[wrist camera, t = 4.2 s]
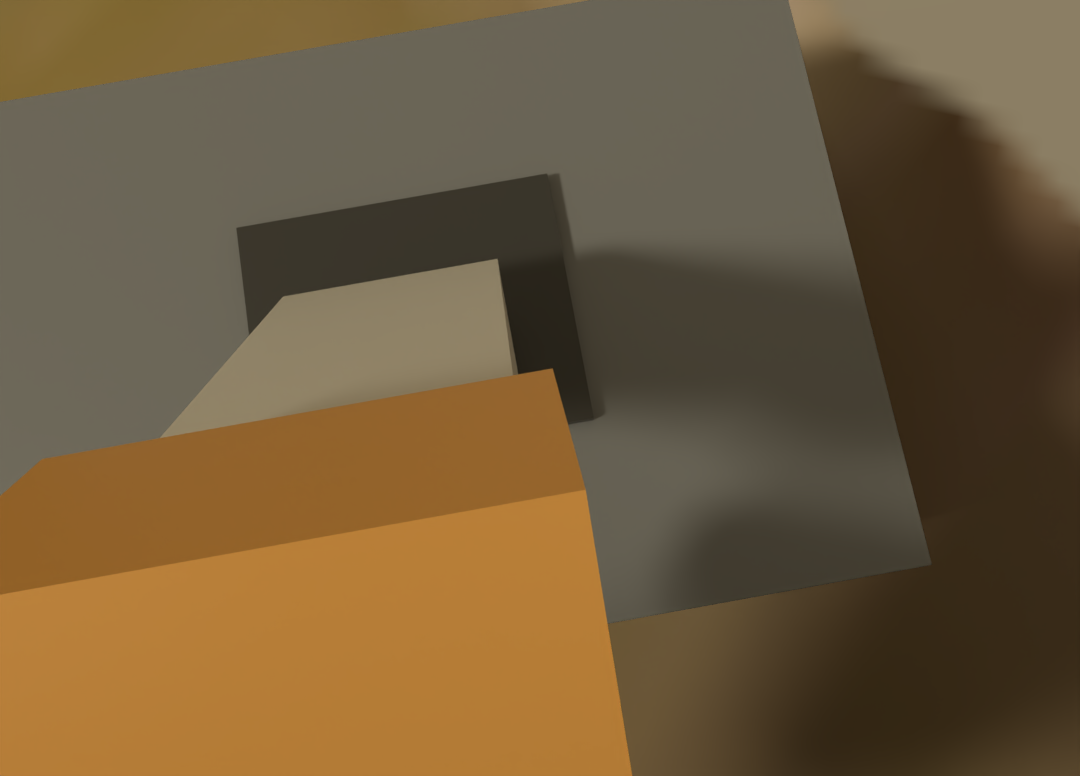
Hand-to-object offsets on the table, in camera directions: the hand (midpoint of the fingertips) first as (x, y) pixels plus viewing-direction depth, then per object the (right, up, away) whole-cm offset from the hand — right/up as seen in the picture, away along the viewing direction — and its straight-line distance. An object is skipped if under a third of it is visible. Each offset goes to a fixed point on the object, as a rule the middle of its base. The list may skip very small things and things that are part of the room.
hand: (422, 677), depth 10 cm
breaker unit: (-1, +3, +11) cm, 11 cm away
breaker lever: (-1, +4, +4) cm, 6 cm away
